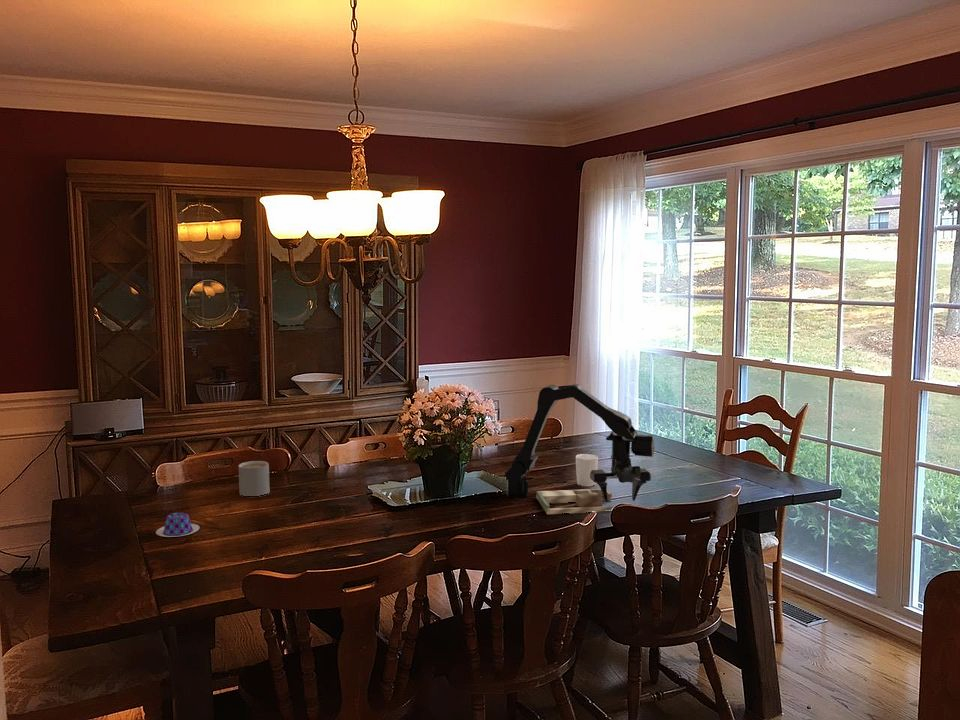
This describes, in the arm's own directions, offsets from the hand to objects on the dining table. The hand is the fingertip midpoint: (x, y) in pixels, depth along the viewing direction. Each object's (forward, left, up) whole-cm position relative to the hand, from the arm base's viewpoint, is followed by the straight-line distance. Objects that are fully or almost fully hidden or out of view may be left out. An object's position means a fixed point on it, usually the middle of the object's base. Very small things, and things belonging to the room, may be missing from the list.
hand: (619, 501), depth 258 cm
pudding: (-136, -7, -2) cm, 136 cm away
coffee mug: (-120, +32, -2) cm, 124 cm away
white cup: (-4, +26, -2) cm, 26 cm away
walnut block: (-10, 0, -2) cm, 10 cm away
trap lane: (-13, +2, -1) cm, 13 cm away
